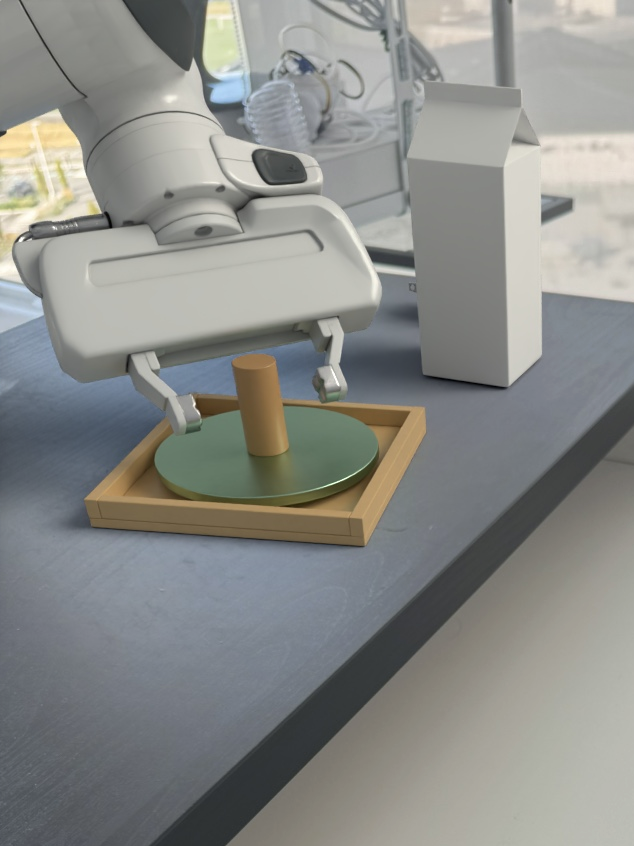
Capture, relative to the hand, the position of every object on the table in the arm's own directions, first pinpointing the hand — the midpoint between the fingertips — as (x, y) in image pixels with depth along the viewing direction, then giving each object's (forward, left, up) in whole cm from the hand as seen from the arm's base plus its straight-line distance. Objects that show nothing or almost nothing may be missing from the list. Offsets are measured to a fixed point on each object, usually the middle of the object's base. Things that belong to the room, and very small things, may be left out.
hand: (264, 413), depth 72 cm
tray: (0, 0, -4) cm, 4 cm away
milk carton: (+10, +21, -5) cm, 24 cm away
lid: (0, 0, -3) cm, 3 cm away
